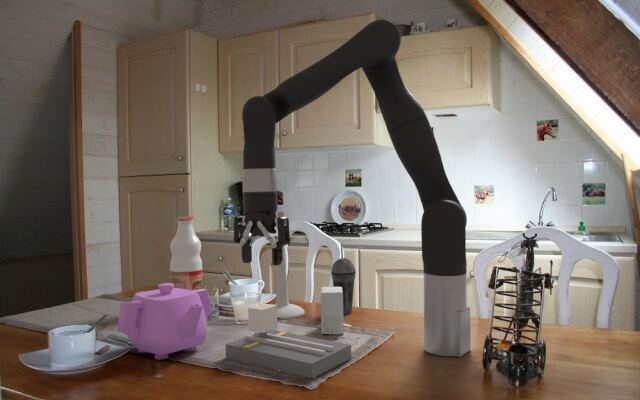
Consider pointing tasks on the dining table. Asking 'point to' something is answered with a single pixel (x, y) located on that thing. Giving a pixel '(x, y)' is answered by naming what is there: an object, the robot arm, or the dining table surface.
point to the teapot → (165, 320)
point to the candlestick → (284, 290)
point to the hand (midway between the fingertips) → (261, 263)
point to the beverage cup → (344, 280)
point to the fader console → (289, 352)
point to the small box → (332, 310)
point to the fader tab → (262, 318)
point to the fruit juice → (185, 256)
